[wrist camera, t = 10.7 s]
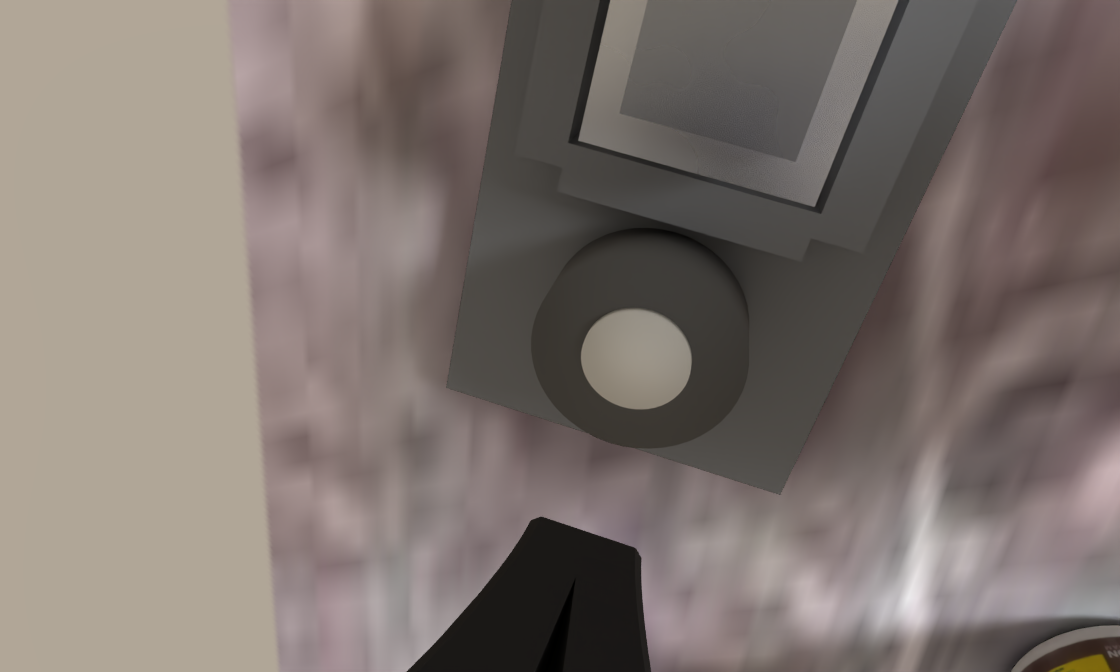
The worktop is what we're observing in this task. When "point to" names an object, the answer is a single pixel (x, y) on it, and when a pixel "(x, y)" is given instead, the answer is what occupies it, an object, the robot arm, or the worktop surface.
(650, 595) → the worktop surface
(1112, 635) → the supplement bottle
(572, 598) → the robot arm
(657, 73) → the grey rectangular block
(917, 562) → the worktop surface
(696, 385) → the wheel
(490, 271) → the chassis
